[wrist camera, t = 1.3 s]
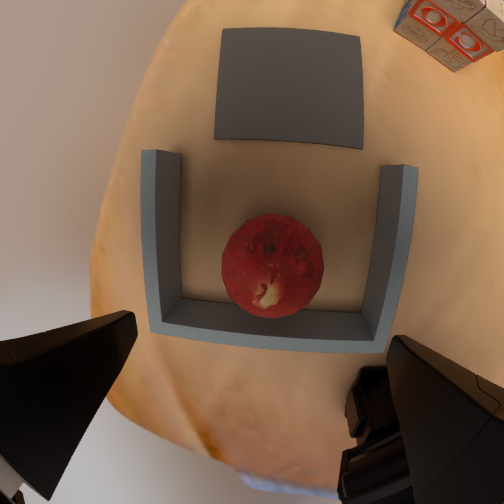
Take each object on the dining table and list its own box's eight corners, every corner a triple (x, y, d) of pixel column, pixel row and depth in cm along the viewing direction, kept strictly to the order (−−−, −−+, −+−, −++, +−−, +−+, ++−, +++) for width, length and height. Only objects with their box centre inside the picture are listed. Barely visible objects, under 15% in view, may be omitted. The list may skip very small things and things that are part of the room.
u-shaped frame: (393, 168, 17) (418, 167, 13) (369, 324, 20) (383, 352, 16) (168, 154, 18) (141, 150, 15) (171, 307, 22) (150, 332, 18)
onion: (238, 203, 19) (205, 221, 11) (322, 213, 18) (347, 239, 11) (231, 282, 20) (200, 342, 13) (309, 292, 20) (320, 358, 12)
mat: (358, 39, 14) (359, 36, 14) (361, 149, 17) (363, 148, 16) (223, 31, 15) (222, 28, 15) (215, 139, 18) (214, 138, 17)
